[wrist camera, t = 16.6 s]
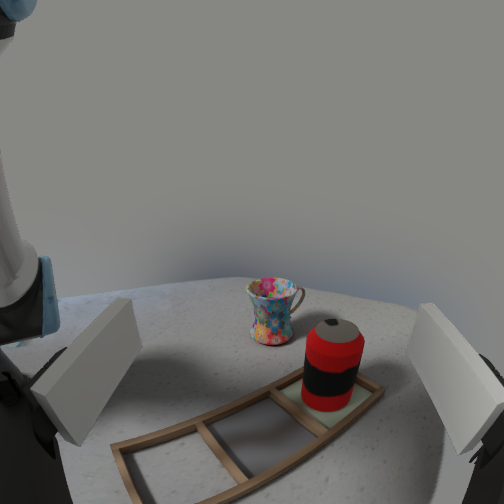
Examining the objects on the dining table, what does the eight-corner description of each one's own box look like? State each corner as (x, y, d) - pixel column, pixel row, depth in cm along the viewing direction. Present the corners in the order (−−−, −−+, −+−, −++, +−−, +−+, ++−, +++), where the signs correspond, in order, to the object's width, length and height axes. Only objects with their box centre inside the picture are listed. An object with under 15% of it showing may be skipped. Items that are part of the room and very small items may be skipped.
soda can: (339, 375, 40) (351, 311, 37) (358, 406, 33) (377, 340, 29) (295, 383, 39) (300, 319, 36) (308, 418, 32) (319, 352, 28)
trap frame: (113, 450, 25) (109, 444, 25) (324, 359, 45) (325, 353, 44) (149, 530, 15) (145, 527, 14) (383, 395, 35) (385, 388, 34)
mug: (261, 354, 47) (261, 303, 44) (240, 330, 56) (238, 283, 52) (315, 336, 52) (319, 287, 49) (290, 316, 60) (292, 271, 57)
